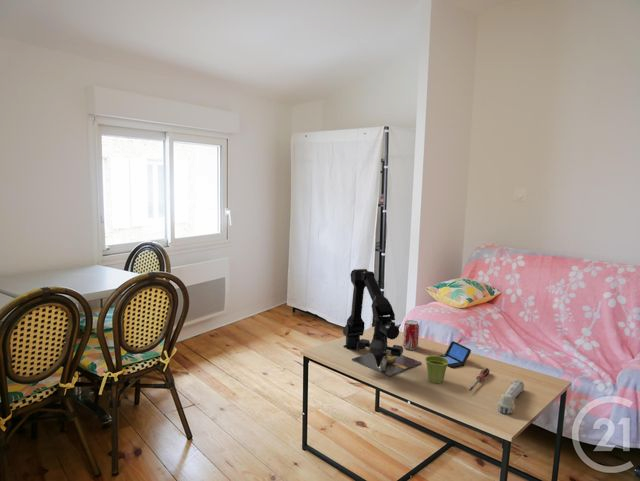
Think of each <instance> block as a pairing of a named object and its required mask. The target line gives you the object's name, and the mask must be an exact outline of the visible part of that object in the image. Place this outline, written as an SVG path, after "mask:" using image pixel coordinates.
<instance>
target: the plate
mask: <svg viewBox="0 0 640 481" xmlns="http://www.w3.org/2000/svg"><path fill="white" fill-rule="evenodd" d="M351 361H353V362H355V363H357V364H359V365H362V366H363V367H366V368H369V369H371V370H373V371H376V372H378V373H380V374H383V375H384V376H387V377H393V376H395V375H398V374H401V373H403V372H404V371H407V370H410V369H412V368H414V367H416V366H419V365H421V364H422V363H423V362H421V361H419V360H417V359H414V358H410V357H408V356H405V355H403V354H402V355H401V356H400V357H398V356H396V361H395V362H393V363H387V366H386V370H385V371H381V364H382V362H381V364H380V367H378V366H377V363H376V359H375V357H374V355H373V354H372V353H370V352H367V353H365V354H362V355H359V356H357V357H353V358H351ZM394 363H397V364H400V365H402V366H405V367H407V368H405V369H403V368H401V367H398V366H396V365H393V364H394Z"/></svg>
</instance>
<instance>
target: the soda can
mask: <svg viewBox="0 0 640 481" xmlns="http://www.w3.org/2000/svg"><path fill="white" fill-rule="evenodd" d="M419 335H420V325H419V322H418V321H416V320H414V319H413V320H412V319H409V320H405V322H404V323H403V340H402V347H403V349H406V350H407V351H415V350H417V349H418V347H419Z"/></svg>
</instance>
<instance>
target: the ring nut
mask: <svg viewBox="0 0 640 481" xmlns="http://www.w3.org/2000/svg"><path fill="white" fill-rule="evenodd" d="M395 361H396V356H393V355H392V354H391V352H390V351H389V353H388V354H387V355H386V356H384V357H383V360H382V364H381V371H385V370H386V366H387V363H393V362H395Z"/></svg>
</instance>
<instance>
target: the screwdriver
mask: <svg viewBox="0 0 640 481" xmlns="http://www.w3.org/2000/svg"><path fill="white" fill-rule="evenodd" d="M489 374H490V369H489V368H487V367H485V368H483V369H482V370H481V371H480V372H479V374H478V375H477V377H476V381H475V382H474V383H473V384H472V386H471V387H470V388H469V390H468V391H469V392H471V391H472V390H473V389H474V388H475V387H476V386H477V384H478V383H482V382H483V381H484V380H485V379H486V378H487V377H488V376H489Z"/></svg>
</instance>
